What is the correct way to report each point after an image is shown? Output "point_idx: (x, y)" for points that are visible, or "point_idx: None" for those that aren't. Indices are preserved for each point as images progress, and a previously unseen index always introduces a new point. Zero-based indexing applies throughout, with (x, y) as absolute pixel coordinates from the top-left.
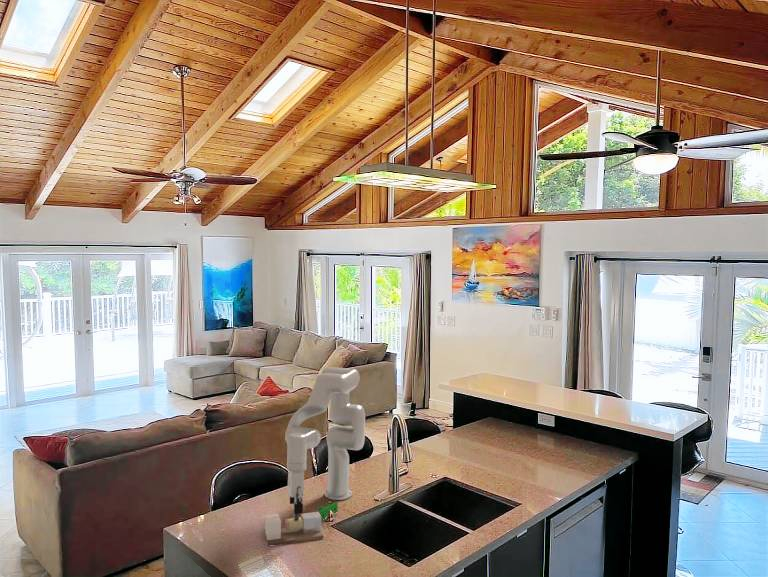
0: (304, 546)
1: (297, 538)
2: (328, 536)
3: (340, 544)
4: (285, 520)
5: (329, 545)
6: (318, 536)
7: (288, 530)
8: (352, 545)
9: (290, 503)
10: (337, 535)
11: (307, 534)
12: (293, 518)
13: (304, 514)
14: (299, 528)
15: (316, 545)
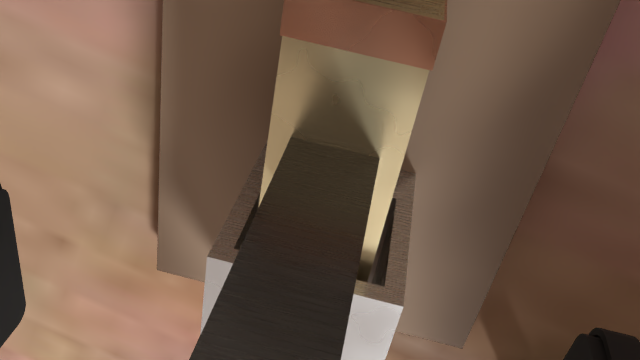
0: (65, 40)
1: (180, 29)
2: (196, 298)
3: (35, 301)
4: (419, 9)
5: (36, 235)
6: (159, 232)
7: (453, 15)
8: (4, 349)
9: (586, 337)
10: (188, 352)
11: (237, 166)
12: (389, 156)
13: (358, 327)
14: (426, 157)
15: (59, 149)
